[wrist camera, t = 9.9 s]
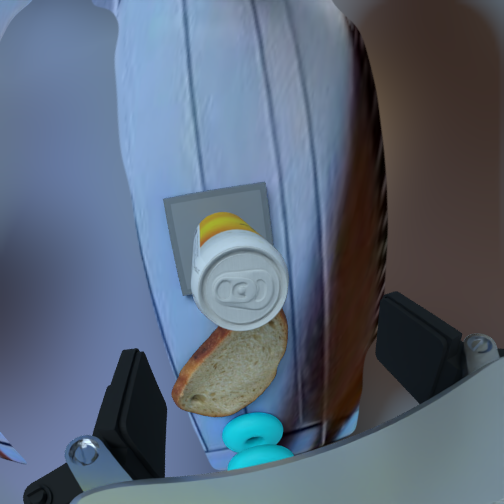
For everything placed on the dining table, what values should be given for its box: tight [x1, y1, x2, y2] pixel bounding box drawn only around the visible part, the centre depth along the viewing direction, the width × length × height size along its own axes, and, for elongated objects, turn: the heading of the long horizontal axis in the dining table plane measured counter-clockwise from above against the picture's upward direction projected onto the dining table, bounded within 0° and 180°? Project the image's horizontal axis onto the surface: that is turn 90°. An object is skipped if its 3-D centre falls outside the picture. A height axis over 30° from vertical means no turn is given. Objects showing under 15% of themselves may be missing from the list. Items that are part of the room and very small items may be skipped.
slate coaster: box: [163, 182, 273, 296], centre depth 31 cm, size 11×11×1 cm
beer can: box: [191, 212, 289, 331], centre depth 23 cm, size 6×6×15 cm
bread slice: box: [172, 308, 288, 417], centre depth 35 cm, size 18×18×4 cm
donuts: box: [222, 412, 294, 470], centre depth 36 cm, size 10×10×10 cm
